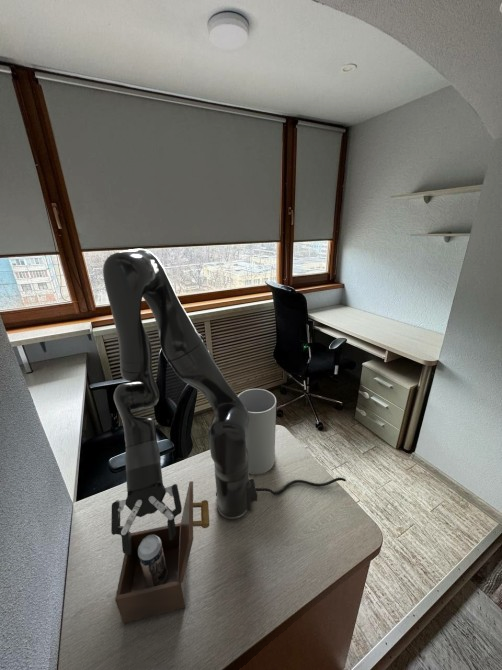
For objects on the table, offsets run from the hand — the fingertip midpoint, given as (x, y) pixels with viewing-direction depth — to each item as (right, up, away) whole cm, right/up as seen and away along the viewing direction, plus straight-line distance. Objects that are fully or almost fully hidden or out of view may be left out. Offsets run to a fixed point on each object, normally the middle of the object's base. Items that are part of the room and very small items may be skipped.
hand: (150, 546), depth 57 cm
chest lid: (+7, +4, 0) cm, 8 cm away
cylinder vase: (+23, +2, +36) cm, 43 cm away
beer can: (0, -11, +5) cm, 12 cm away
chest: (0, -11, +5) cm, 12 cm away
